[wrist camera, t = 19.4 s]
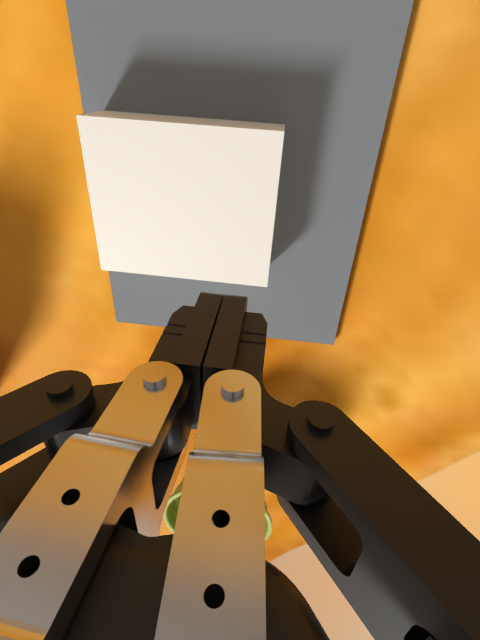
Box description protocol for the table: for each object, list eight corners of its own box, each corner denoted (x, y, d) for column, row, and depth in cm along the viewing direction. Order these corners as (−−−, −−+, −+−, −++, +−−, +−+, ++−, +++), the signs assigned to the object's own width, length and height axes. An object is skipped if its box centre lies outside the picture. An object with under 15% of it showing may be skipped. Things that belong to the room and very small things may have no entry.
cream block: (285, 124, 22) (103, 110, 23) (284, 131, 19) (76, 115, 20) (269, 264, 27) (121, 249, 28) (267, 287, 24) (101, 269, 25)
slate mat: (65, -32, 20) (60, -35, 19) (415, -18, 18) (418, -21, 18) (119, 317, 32) (116, 321, 31) (332, 340, 30) (333, 344, 30)
